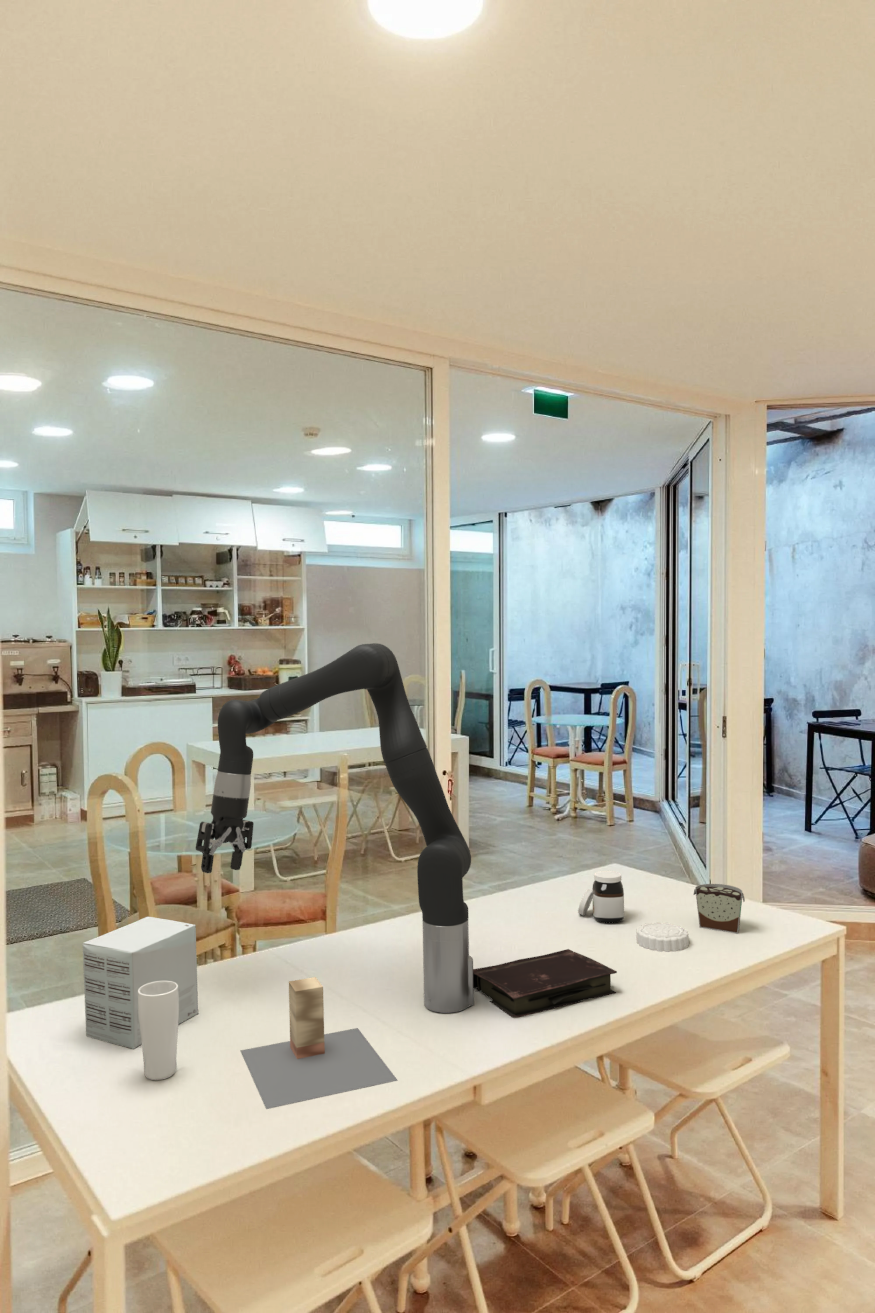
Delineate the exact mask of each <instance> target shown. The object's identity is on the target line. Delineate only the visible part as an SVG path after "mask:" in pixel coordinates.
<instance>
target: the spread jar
mask: <svg viewBox="0 0 875 1313" xmlns="http://www.w3.org/2000/svg"><path fill="white" fill-rule="evenodd" d="M593 876H594V877H593V878H594V881H593V883H592V889H590V888H587V889H586V890H585V892H584V893H583V895H582V898H581V900H580V902H579V906H578V910H577V913H578V914H579V915H582V916H585V915H586V914H587V912H588V910H589V908H590V906H591V903H592V916H593V919H594V920H595V921H596V922H598V923H601V924H602V923H603V924H617V923H620V922H622V921H623V920H624V917H625V893H624V886H623V883H622V873H620V872H619V871H613V870H599V871H595V872H594V875H593Z"/></svg>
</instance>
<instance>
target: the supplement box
mask: <svg viewBox="0 0 875 1313" xmlns="http://www.w3.org/2000/svg"><path fill="white" fill-rule="evenodd" d="M196 927H197V926H196V924H192V923H188V922H183V921H176V920H172V919H165V918H159V917H154V916H145V917H143V918H141V919H138V920H137V921H134V922H132V923H129V924H127V925H124V926H122V927H119V928H117V929H116V928H115V929H114V930H112V931H109V932H107V933H104V934H102V935H99V936H98V937H94V938H91V939H90V940H87V941H84V942H82V961H83V962H82V965H83V968H82V969H83V989H84V992H83V993H84V1011H85V1013H84V1014H85V1036H86V1037H88V1038H91V1039H96V1040H99V1041H103V1042H105V1043H106V1042H107V1043H110V1044H113V1045H118V1046H120V1047H126V1048H129V1049H132V1050H135V1049H136V1048H137V1047H139V1046H142V1043H141V1035H140V1027H139V1018H138V989H139V988H140V987H141V986H143V985H145V984H148V983H151V982H155V981H172V982H175V983H176V984H177V985H178V992H179V1021H178V1025H180V1024H182V1023H184V1022H185V1021H187V1020H189V1019H191V1018H193V1017H194V1016H196V1015H198V1014H199V998H198V996H199V993H198V964H197V963H198V962H197V961H198V960H197V957H198V956H197V931H196V930H197V929H196Z"/></svg>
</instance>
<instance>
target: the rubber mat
mask: <svg viewBox="0 0 875 1313" xmlns="http://www.w3.org/2000/svg"><path fill="white" fill-rule="evenodd" d="M324 1046H325V1053H324V1054H319V1055H314V1056H310V1057H305V1058H300V1059H297V1058H296V1056H295V1055H294V1053H293V1051H292V1049H291V1048H290V1040H287V1041H283V1042H277V1043H273V1044H267V1045H262V1046H257V1047H251V1048H245V1049H242V1050H240V1053H241V1056H242V1058H243V1061H244V1062H245V1065H246V1067H247V1069H248V1071H249V1073H250V1075H251V1078H252V1080H253V1083H254V1085H255V1087H256V1089H257V1092H258V1094H259V1096H260V1097H261V1100H262V1103H263V1105H264V1107H265V1109H266V1110H268V1109H269V1110H270V1109H274V1108H279V1107H283V1106H286V1105H288V1106H289V1105H292V1104H297V1103H301V1102H307V1101H311V1100H315V1099H320V1098H324V1097H329V1096H333V1095H338V1094H343V1093H347V1092H353V1091H357V1090H361V1089H365V1088H369V1087H375V1086H379V1085H383V1084H388V1083H392V1082H397V1081H398V1078H397V1077H396V1076H395V1074H393V1072H392V1071H391V1069H390V1068H389V1067H388V1066H387V1064H386V1063H385V1062H384V1060H383V1059H382V1058H381V1057H380V1055H379V1054H378V1052H377V1051H376V1050H375V1048H374V1047H373V1046H372V1045H371V1043H370V1042H369V1040H367V1038H366V1037H365V1036H364V1034H363V1032H362V1031H361V1030H360V1029H359V1028H358V1027H355V1028H352V1029H345V1030H340V1031H335V1032H330V1033H324Z"/></svg>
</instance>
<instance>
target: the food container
mask: <svg viewBox="0 0 875 1313" xmlns="http://www.w3.org/2000/svg"><path fill="white" fill-rule="evenodd" d="M694 888H695V889H694V891H693V896H695V897H696V898H695V899H696V906H697V907H696V908H697V909H696V910H697V917H698V926H699V928H700V929H704V930H705V929H706V930H712V931H718V932H725V933H730V934H739V932H740V926H741V925H740V924H741V915H742V914H741V913H742V904H743V903H744V902H745V900H746V899H745V894H744V892H743V890H742V889H741V888H739V887H736V886H733V885H729V884H725V883H724V884H723V883H705V884H699V885H696V886H695V887H694ZM742 902H743V903H742Z"/></svg>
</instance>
